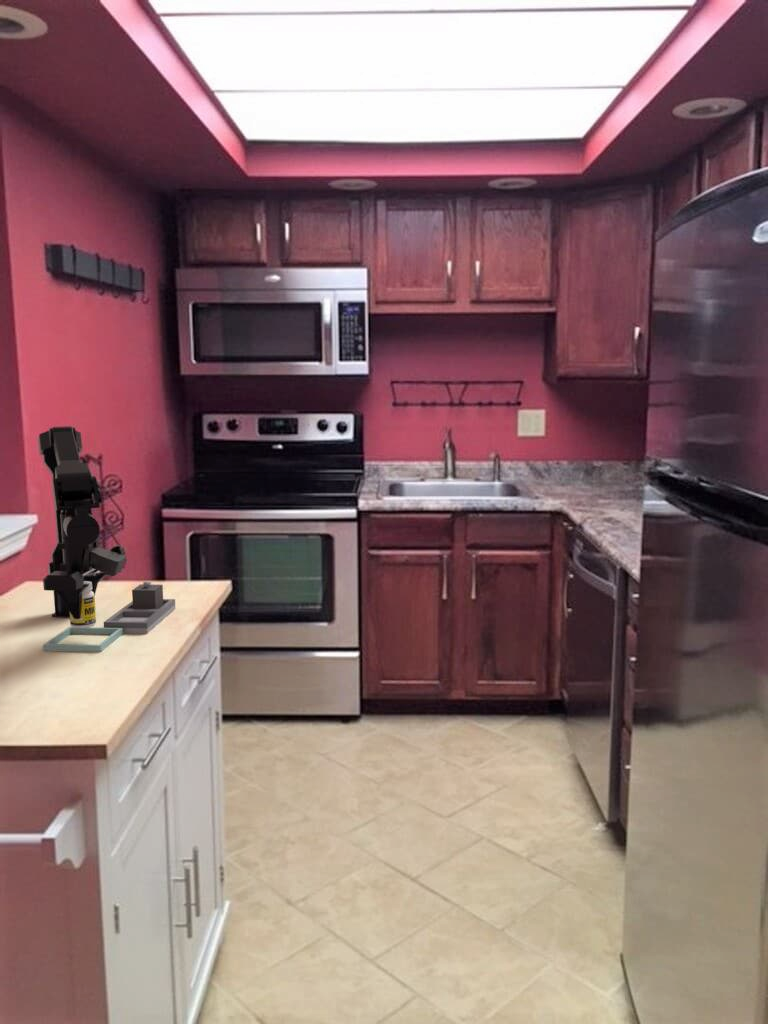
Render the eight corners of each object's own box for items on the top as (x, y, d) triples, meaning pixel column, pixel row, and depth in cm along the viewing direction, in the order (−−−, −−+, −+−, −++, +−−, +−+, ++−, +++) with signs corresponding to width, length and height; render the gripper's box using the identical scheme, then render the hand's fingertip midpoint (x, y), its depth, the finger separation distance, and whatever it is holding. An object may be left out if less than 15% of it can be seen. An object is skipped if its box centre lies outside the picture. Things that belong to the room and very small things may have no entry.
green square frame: (43, 650, 159) (43, 644, 159) (69, 632, 170) (68, 626, 170) (101, 651, 159) (100, 645, 158) (123, 633, 170) (122, 627, 169)
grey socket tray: (104, 632, 170) (103, 622, 170) (136, 608, 188) (135, 598, 188) (147, 633, 170) (147, 622, 169) (175, 608, 187) (175, 599, 187)
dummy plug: (133, 612, 181) (131, 584, 180) (141, 606, 186) (140, 579, 185) (156, 613, 180) (154, 585, 179) (163, 606, 185) (162, 579, 184)
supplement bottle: (87, 629, 161) (85, 587, 160) (65, 628, 162) (62, 585, 161) (101, 622, 166) (98, 580, 164) (79, 620, 167) (76, 579, 165)
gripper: (99, 546, 151) (104, 630, 154) (136, 527, 169) (140, 602, 172) (39, 546, 152) (45, 629, 154) (82, 527, 170) (87, 601, 173)
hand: (82, 614), depth 163 cm, fingers closed on supplement bottle, 5 cm apart
